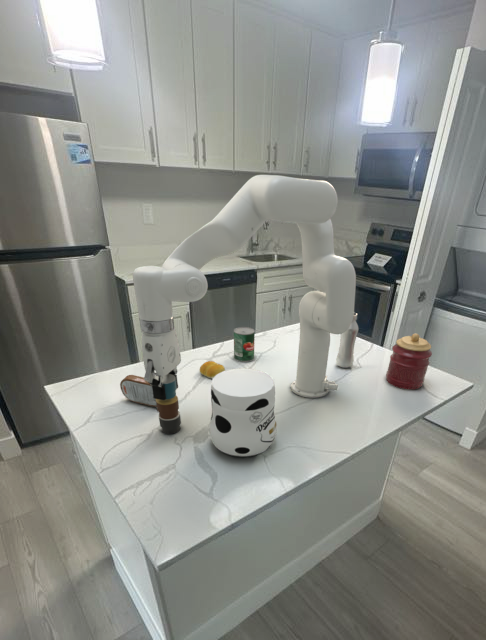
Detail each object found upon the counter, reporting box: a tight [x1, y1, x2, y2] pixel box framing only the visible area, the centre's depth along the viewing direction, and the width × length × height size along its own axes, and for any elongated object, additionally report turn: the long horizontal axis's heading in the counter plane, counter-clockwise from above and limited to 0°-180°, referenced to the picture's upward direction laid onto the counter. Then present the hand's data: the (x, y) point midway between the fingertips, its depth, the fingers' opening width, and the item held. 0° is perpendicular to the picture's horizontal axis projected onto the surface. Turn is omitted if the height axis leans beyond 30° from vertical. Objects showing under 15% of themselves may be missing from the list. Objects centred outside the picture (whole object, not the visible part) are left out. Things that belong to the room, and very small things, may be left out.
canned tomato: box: [233, 326, 256, 363], centre depth 142 cm, size 8×8×11 cm
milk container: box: [209, 367, 278, 458], centre depth 94 cm, size 17×17×18 cm
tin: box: [119, 374, 157, 408], centre depth 111 cm, size 15×3×8 cm, turn 71°
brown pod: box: [156, 395, 180, 419], centre depth 99 cm, size 6×6×5 cm
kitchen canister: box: [385, 333, 433, 390], centre depth 128 cm, size 13×13×18 cm
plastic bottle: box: [335, 312, 360, 369], centre depth 137 cm, size 6×7×20 cm
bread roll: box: [199, 360, 226, 379], centre depth 131 cm, size 8×9×4 cm
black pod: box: [158, 410, 182, 435], centre depth 101 cm, size 6×6×5 cm
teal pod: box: [155, 374, 178, 400], centre depth 96 cm, size 6×6×5 cm
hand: (166, 392), depth 96 cm, fingers closed on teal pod, 5 cm apart
